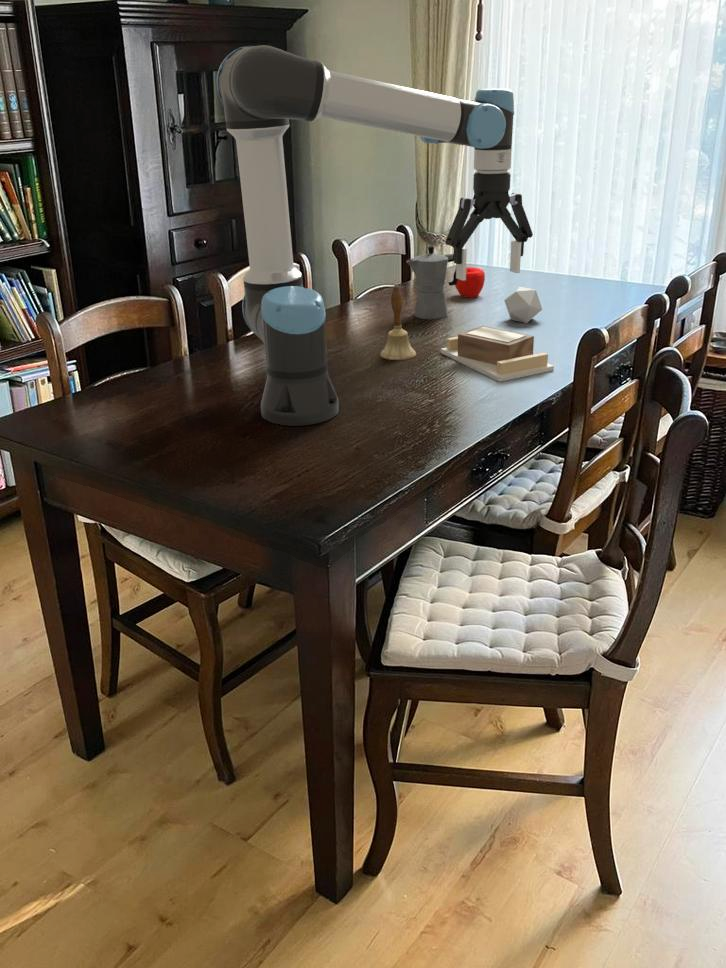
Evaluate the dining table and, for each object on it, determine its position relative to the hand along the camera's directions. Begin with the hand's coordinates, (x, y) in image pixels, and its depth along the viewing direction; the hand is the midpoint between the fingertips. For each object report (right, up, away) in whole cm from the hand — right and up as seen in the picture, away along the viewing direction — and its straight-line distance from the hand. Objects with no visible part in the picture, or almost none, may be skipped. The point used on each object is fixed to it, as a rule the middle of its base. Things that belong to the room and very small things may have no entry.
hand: (488, 275), depth 192 cm
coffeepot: (-8, 0, +46) cm, 47 cm away
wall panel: (+3, -17, +8) cm, 19 cm away
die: (+14, -3, +38) cm, 41 cm away
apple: (+3, +8, +63) cm, 64 cm away
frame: (+3, -16, +8) cm, 18 cm away
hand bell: (-19, -15, +15) cm, 28 cm away
